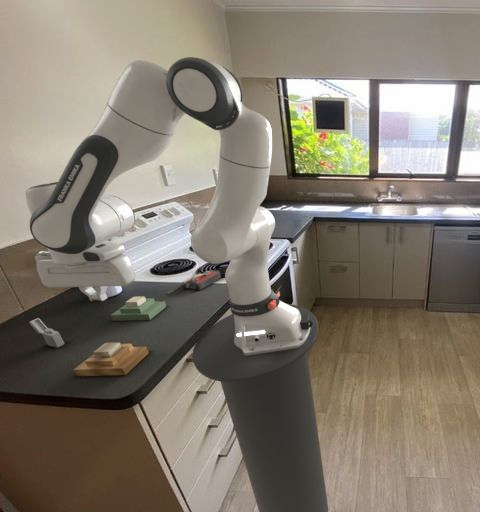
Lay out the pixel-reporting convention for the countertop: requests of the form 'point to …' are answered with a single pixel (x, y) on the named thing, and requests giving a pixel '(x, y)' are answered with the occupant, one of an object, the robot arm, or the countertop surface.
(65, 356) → the countertop surface
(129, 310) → the key block
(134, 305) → the far key
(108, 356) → the near key
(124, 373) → the key block
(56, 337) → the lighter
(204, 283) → the walkie-talkie
